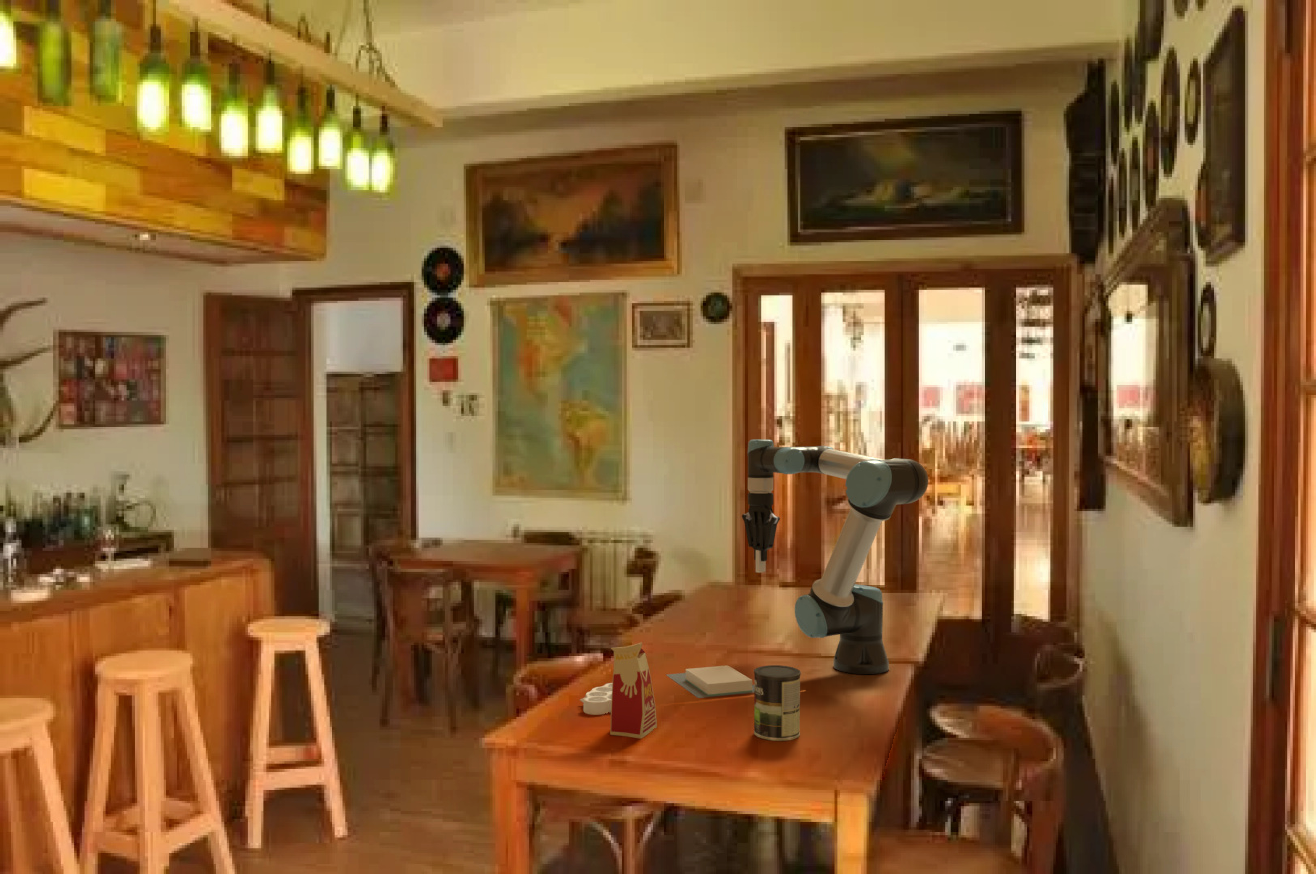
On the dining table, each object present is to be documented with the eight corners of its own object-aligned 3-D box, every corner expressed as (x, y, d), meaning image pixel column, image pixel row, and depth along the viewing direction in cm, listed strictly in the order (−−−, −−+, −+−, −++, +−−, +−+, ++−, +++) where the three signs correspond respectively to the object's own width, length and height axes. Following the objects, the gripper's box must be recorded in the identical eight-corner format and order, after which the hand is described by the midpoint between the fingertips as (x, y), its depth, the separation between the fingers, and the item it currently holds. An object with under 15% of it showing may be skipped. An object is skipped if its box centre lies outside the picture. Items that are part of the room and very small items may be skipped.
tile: (685, 669, 270) (708, 684, 255) (727, 665, 274) (752, 680, 259) (685, 680, 270) (708, 696, 255) (727, 676, 274) (752, 691, 259)
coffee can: (758, 742, 221) (758, 677, 221) (750, 727, 231) (750, 665, 231) (805, 740, 222) (805, 676, 222) (794, 726, 232) (795, 664, 232)
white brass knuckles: (627, 719, 239) (569, 713, 243) (652, 699, 256) (597, 694, 260) (627, 705, 239) (569, 699, 243) (652, 686, 256) (597, 681, 260)
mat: (665, 676, 276) (665, 674, 276) (727, 671, 282) (727, 669, 282) (698, 700, 253) (698, 698, 253) (764, 693, 259) (764, 691, 259)
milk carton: (657, 726, 232) (656, 639, 231) (643, 739, 223) (643, 648, 223) (619, 722, 235) (619, 636, 234) (604, 734, 226) (604, 644, 226)
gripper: (786, 492, 298) (785, 573, 299) (752, 490, 308) (752, 568, 308) (769, 493, 293) (769, 575, 294) (735, 491, 303) (735, 570, 303)
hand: (760, 571), depth 301 cm, fingers closed
